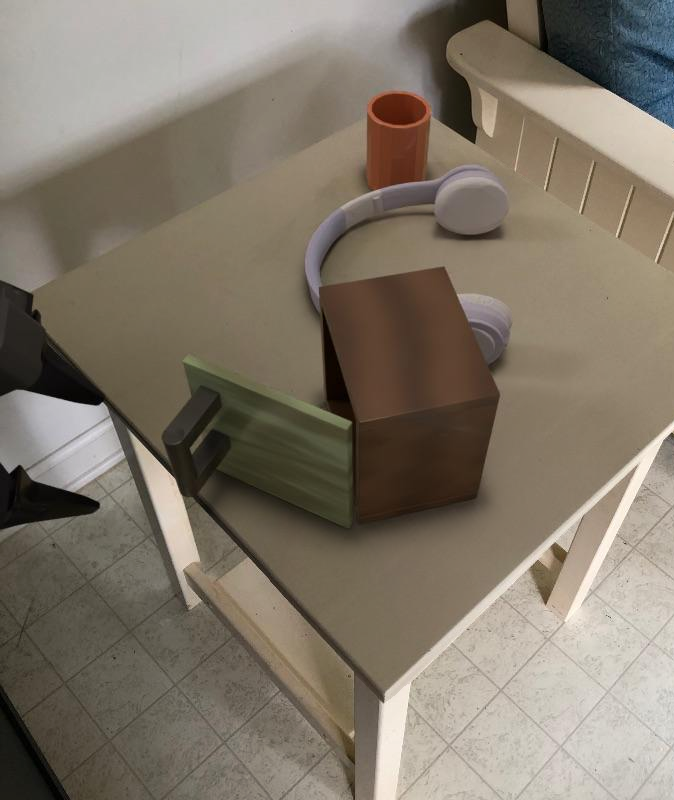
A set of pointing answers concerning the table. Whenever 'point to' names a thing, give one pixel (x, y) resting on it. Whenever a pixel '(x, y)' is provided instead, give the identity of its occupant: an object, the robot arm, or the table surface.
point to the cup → (397, 139)
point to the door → (261, 442)
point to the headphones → (454, 210)
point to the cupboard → (407, 390)
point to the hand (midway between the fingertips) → (99, 452)
